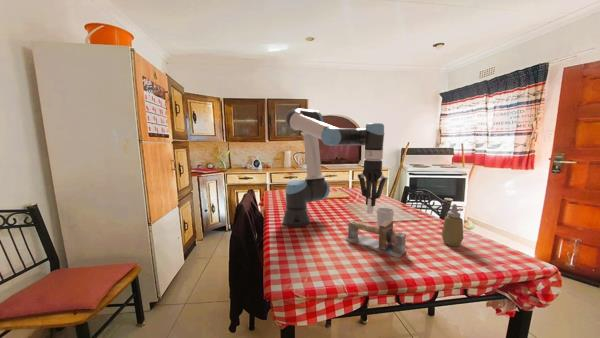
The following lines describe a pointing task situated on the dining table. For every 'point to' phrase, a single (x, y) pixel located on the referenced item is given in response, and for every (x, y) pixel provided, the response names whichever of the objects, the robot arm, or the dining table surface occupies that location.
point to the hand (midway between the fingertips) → (370, 212)
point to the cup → (384, 215)
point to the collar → (385, 234)
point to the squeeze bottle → (453, 228)
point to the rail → (393, 250)
